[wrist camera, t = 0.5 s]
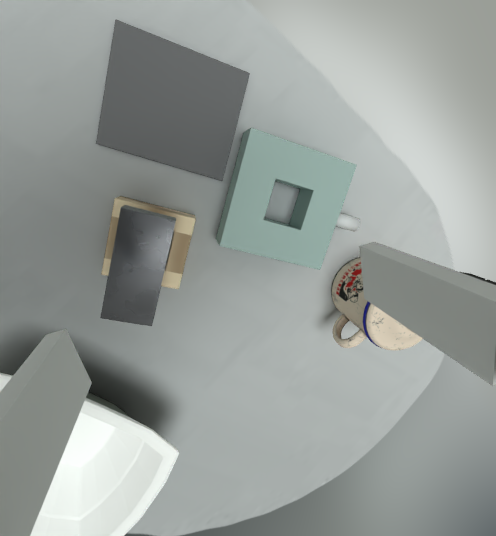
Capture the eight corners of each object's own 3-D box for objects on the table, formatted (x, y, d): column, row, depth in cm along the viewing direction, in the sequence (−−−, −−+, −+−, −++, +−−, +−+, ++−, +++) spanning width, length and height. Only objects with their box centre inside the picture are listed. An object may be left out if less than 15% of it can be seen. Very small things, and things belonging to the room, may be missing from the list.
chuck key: (125, 274, 35) (100, 318, 25) (141, 196, 33) (120, 207, 23) (161, 281, 36) (151, 326, 26) (178, 206, 34) (175, 221, 24)
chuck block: (215, 238, 36) (219, 245, 32) (243, 132, 33) (251, 127, 30) (330, 266, 40) (345, 276, 37) (363, 174, 38) (383, 174, 34)
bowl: (27, 314, 35) (-19, 355, 27) (195, 399, 42) (197, 451, 34) (-72, 454, 37) (-142, 531, 29) (103, 511, 44) (86, 584, 37)
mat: (97, 143, 31) (96, 143, 31) (116, 21, 29) (115, 19, 28) (221, 180, 34) (222, 180, 34) (248, 74, 32) (249, 73, 32)
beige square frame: (107, 266, 35) (101, 274, 32) (120, 196, 33) (114, 198, 30) (179, 280, 37) (178, 289, 34) (194, 215, 35) (195, 219, 32)
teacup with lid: (367, 240, 40) (435, 265, 29) (401, 285, 43) (474, 323, 32) (299, 302, 41) (342, 349, 30) (337, 342, 44) (389, 398, 33)
